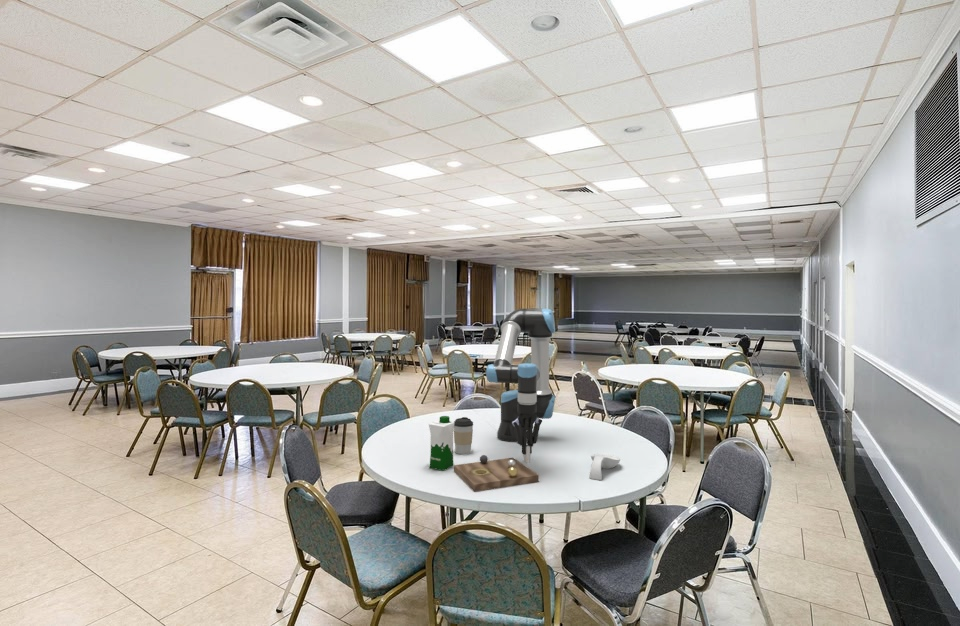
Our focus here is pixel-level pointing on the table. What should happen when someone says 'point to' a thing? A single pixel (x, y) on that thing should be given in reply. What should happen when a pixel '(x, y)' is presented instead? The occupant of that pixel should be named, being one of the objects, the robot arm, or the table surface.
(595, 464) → the white curved piece
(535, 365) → the robot arm
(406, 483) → the table surface
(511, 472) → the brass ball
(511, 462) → the steel ball
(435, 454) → the milk carton
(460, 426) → the coffee cup
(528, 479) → the board
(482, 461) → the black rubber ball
